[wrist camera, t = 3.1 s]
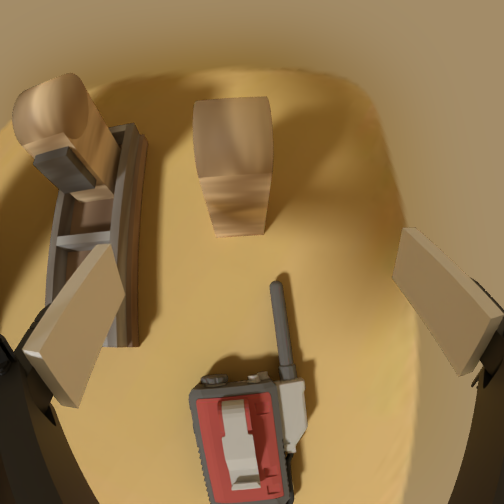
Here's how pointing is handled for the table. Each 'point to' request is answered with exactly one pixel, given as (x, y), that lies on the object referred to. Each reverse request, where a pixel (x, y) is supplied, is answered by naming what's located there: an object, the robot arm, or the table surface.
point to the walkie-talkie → (251, 426)
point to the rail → (86, 187)
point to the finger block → (234, 162)
